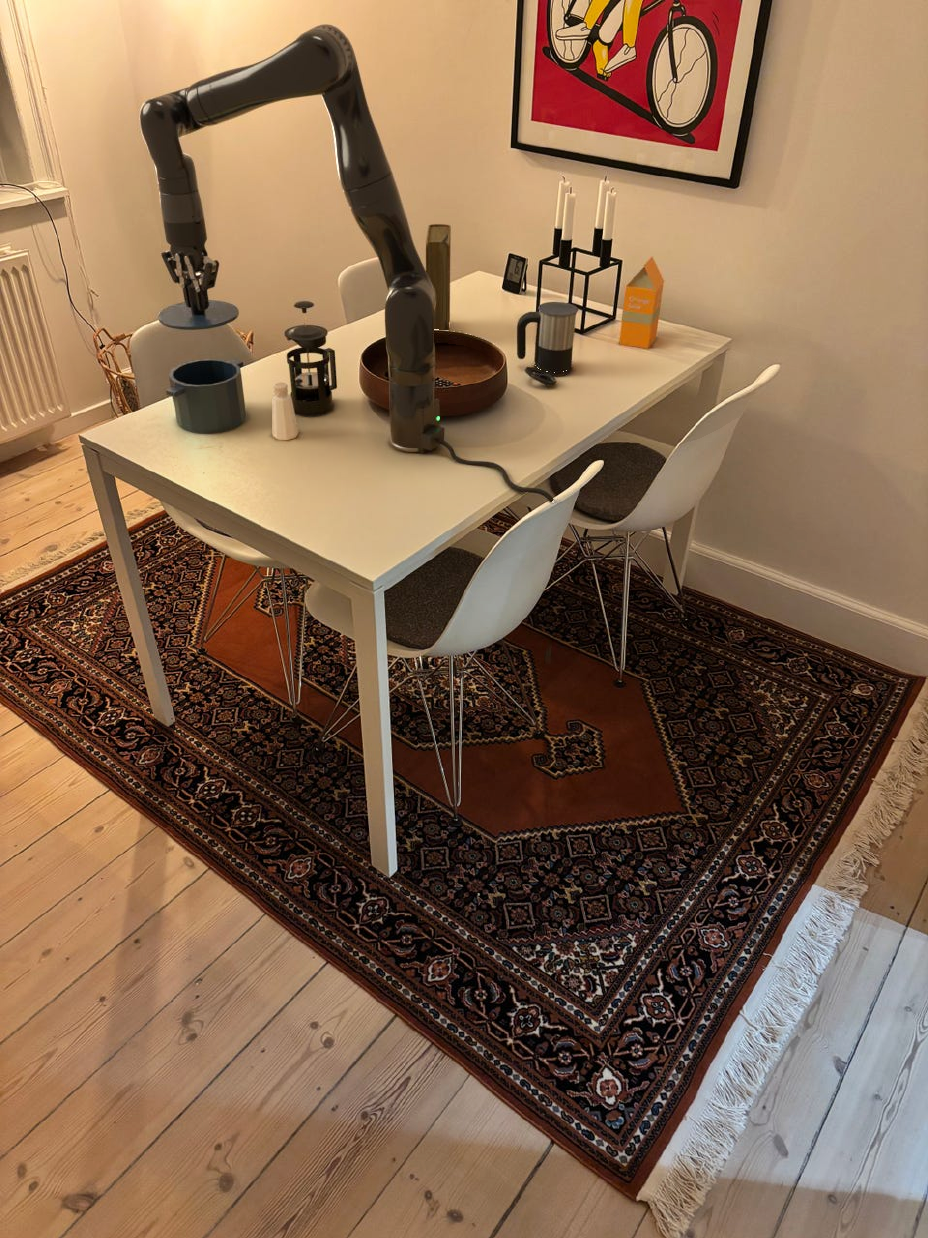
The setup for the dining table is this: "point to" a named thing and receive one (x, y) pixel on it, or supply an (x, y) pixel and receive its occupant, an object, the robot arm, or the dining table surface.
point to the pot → (208, 395)
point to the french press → (310, 382)
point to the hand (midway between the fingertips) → (197, 307)
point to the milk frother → (549, 340)
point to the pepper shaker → (283, 414)
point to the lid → (197, 314)
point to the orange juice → (642, 307)
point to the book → (439, 271)
